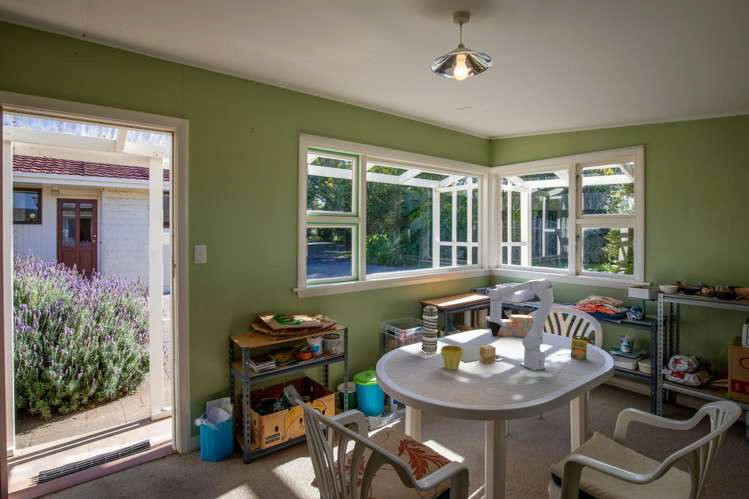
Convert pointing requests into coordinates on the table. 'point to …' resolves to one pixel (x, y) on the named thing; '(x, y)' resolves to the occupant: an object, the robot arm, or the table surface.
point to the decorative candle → (429, 329)
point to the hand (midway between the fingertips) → (494, 336)
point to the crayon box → (579, 347)
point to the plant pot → (451, 356)
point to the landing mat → (472, 354)
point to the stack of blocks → (516, 326)
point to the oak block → (487, 354)
